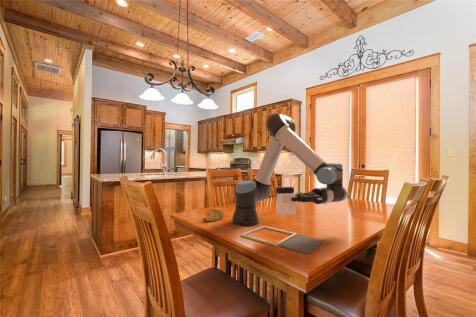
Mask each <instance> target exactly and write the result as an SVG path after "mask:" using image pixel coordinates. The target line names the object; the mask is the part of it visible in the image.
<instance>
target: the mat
mask: <svg viewBox="0 0 476 317" xmlns="http://www.w3.org/2000/svg"><path fill="white" fill-rule="evenodd" d="M324 242H325V240H323V239H320V238H315V237H310V236H306V235H302V234H297V236H295V237H293V238H291V239H290V240H288V241H286V242H284V243H283V244H281V245H279V247H280V248H283V249H288V250H291V251H295V252H298V253H302V254H306V255H310V253H312V252H313V251H314V250H316V249H317V248H318V247H319V246H320V245H322V244H323V243H324Z"/></svg>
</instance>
